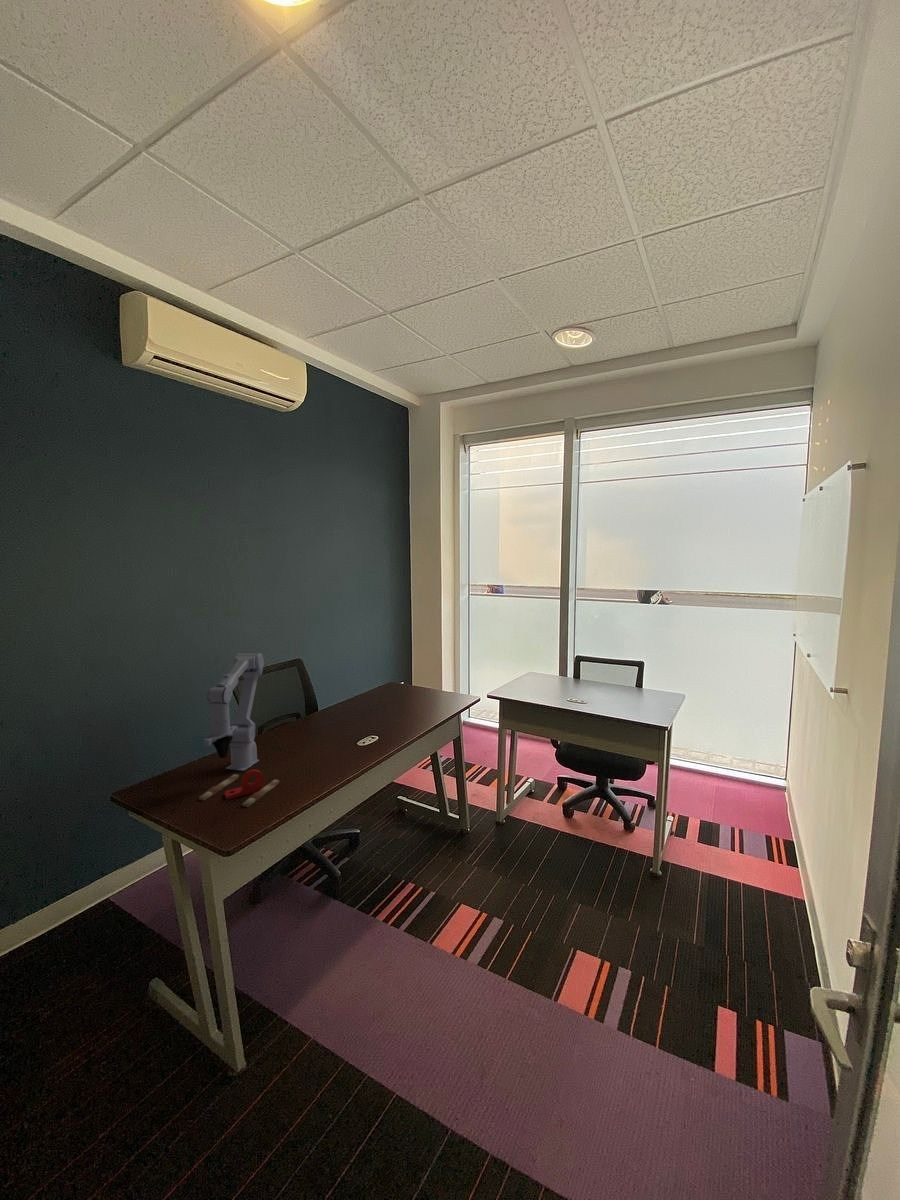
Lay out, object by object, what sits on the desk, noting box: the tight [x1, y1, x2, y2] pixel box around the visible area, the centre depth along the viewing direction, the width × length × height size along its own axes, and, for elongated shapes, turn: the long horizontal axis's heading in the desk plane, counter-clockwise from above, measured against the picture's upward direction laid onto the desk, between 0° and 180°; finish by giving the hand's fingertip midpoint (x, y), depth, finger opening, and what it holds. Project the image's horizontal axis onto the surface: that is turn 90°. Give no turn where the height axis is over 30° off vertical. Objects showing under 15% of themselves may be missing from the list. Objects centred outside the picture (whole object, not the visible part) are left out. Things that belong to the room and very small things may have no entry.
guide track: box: [198, 773, 280, 808], centre depth 168 cm, size 17×19×1 cm
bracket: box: [224, 769, 265, 800], centre depth 167 cm, size 12×4×8 cm, turn 121°
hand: (222, 757), depth 174 cm, fingers closed
